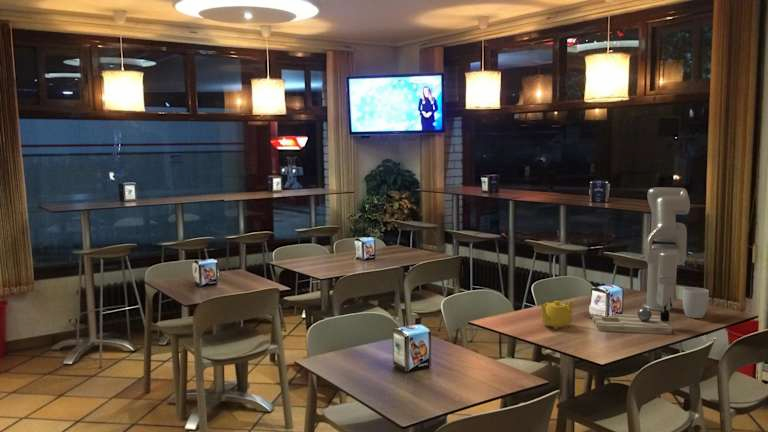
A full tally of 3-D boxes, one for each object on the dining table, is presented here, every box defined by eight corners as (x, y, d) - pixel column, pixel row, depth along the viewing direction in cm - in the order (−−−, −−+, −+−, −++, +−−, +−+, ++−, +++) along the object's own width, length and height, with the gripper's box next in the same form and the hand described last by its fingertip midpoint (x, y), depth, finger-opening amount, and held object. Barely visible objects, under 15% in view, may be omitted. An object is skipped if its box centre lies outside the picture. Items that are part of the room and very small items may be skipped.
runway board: (591, 318, 304) (591, 313, 304) (659, 321, 300) (659, 315, 299) (598, 330, 284) (598, 325, 284) (671, 333, 280) (671, 328, 280)
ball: (635, 318, 294) (636, 305, 294) (649, 319, 293) (650, 306, 293) (638, 322, 288) (639, 309, 288) (652, 323, 287) (653, 309, 287)
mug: (692, 311, 317) (693, 284, 316) (715, 315, 309) (717, 288, 307) (677, 316, 308) (678, 289, 306) (700, 321, 299) (702, 293, 298)
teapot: (559, 318, 303) (560, 294, 302) (583, 326, 291) (584, 301, 289) (526, 324, 293) (527, 299, 292) (550, 333, 281) (551, 307, 279)
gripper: (653, 276, 294) (651, 316, 297) (662, 283, 280) (660, 325, 282) (670, 276, 293) (668, 316, 295) (680, 283, 279) (678, 325, 281)
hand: (664, 320), depth 289 cm, fingers closed
